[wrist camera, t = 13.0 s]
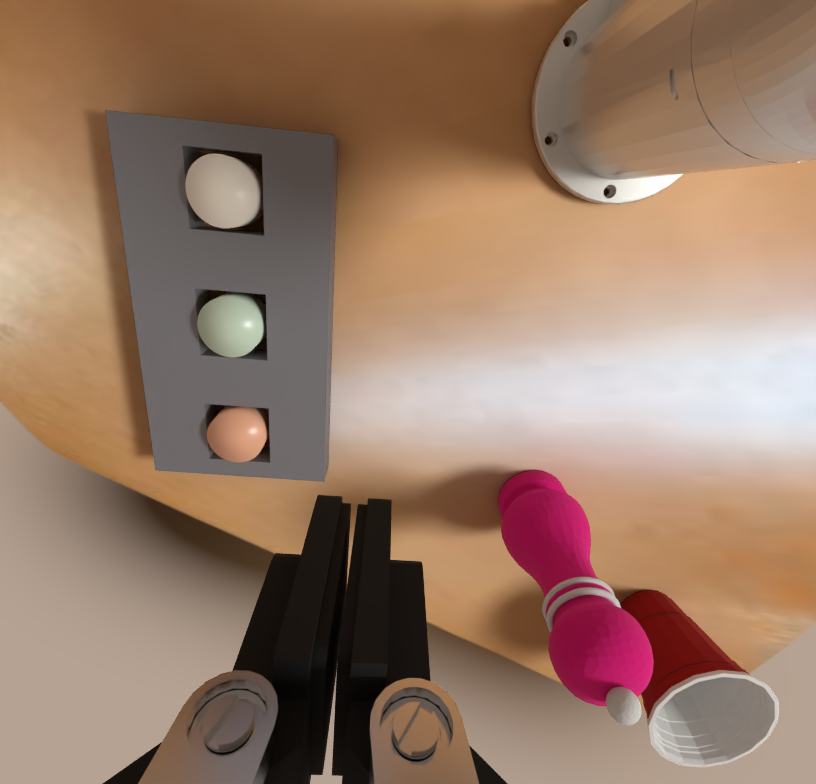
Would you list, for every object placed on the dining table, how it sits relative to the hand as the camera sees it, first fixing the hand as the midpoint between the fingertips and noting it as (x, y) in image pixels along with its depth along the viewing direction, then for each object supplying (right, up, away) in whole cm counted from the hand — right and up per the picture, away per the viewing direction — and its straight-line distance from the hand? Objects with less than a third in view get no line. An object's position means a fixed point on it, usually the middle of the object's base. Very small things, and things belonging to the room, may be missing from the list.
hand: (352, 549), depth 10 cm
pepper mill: (+13, -6, +33) cm, 35 cm away
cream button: (-11, +18, +22) cm, 30 cm away
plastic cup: (+27, -19, +38) cm, 50 cm away
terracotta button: (-13, +1, +28) cm, 31 cm away
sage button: (-12, +9, +25) cm, 29 cm away
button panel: (-12, +9, +25) cm, 29 cm away
